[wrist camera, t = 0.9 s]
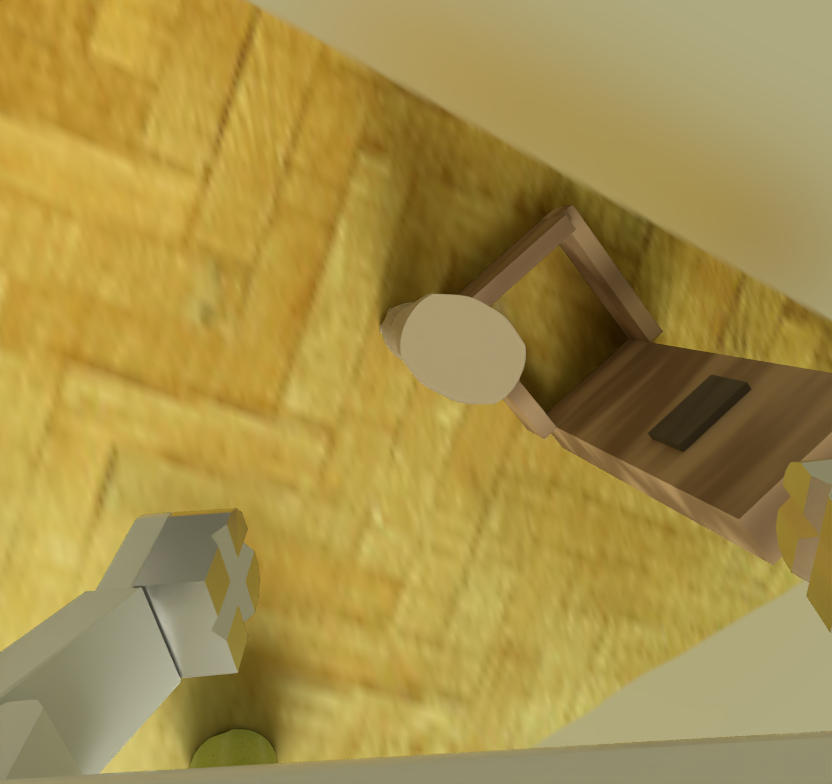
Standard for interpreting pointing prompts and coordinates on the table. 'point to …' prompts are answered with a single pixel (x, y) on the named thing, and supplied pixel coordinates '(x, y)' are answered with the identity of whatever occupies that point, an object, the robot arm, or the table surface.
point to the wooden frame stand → (673, 404)
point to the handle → (456, 347)
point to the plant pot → (234, 750)
